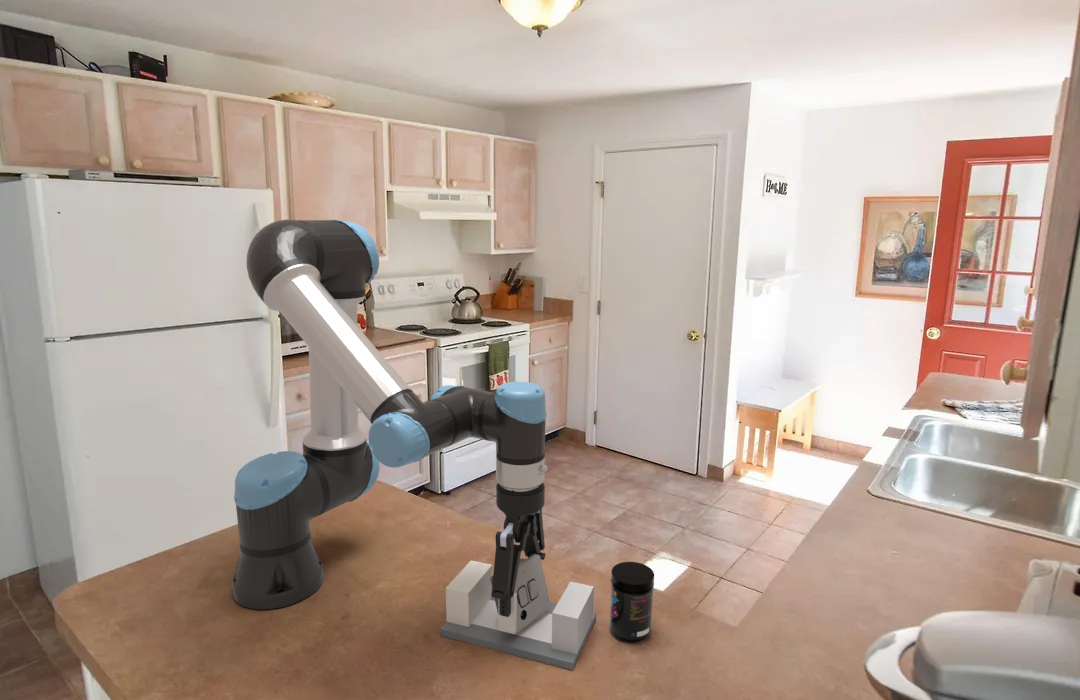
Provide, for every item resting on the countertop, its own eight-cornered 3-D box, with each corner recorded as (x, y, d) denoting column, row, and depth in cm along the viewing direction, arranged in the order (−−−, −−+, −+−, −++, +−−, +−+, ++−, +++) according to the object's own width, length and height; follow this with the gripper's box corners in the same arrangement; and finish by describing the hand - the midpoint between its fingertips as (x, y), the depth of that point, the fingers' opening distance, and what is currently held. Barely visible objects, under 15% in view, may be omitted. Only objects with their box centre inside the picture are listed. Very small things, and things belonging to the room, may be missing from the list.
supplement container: (630, 613, 106) (632, 557, 103) (660, 634, 100) (663, 575, 98) (600, 628, 102) (602, 570, 100) (630, 651, 96) (632, 589, 94)
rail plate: (440, 635, 99) (439, 594, 98) (476, 591, 111) (476, 554, 110) (572, 670, 92) (573, 626, 90) (595, 619, 104) (597, 580, 102)
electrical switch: (514, 637, 96) (510, 580, 95) (490, 626, 99) (485, 571, 98) (551, 608, 103) (548, 555, 102) (527, 599, 107) (524, 548, 105)
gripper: (515, 516, 85) (514, 661, 90) (565, 461, 106) (562, 581, 110) (466, 507, 88) (468, 649, 92) (524, 455, 108) (523, 573, 113)
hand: (519, 612), depth 101 cm, fingers closed on electrical switch, 9 cm apart
